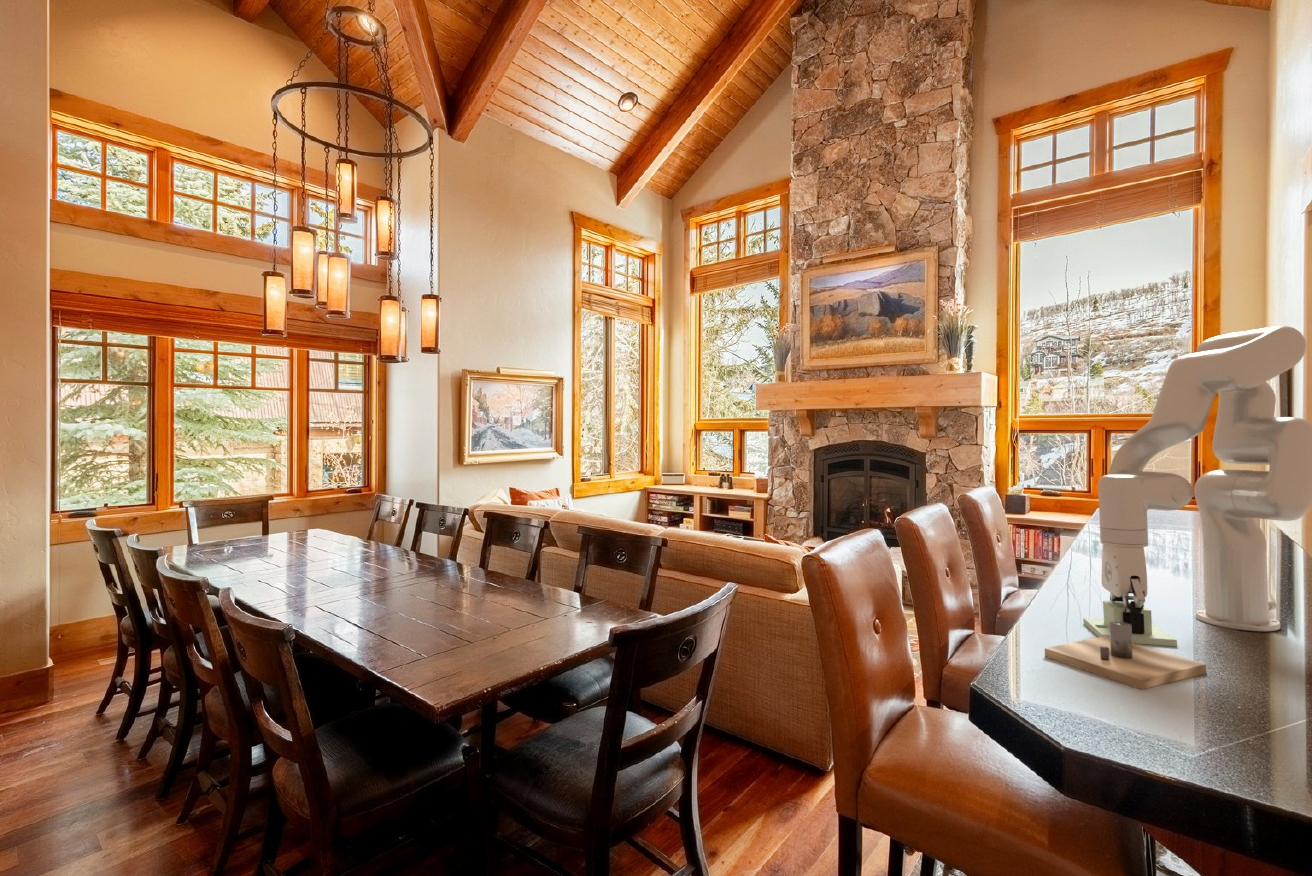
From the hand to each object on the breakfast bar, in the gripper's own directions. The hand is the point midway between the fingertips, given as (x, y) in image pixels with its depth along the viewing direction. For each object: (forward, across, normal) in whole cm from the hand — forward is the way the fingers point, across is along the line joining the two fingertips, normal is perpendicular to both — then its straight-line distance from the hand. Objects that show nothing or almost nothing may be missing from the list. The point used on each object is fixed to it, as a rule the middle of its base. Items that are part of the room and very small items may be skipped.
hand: (1127, 627), depth 120 cm
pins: (0, +20, -8) cm, 21 cm away
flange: (+1, 0, 0) cm, 1 cm away
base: (+1, +19, -7) cm, 20 cm away
